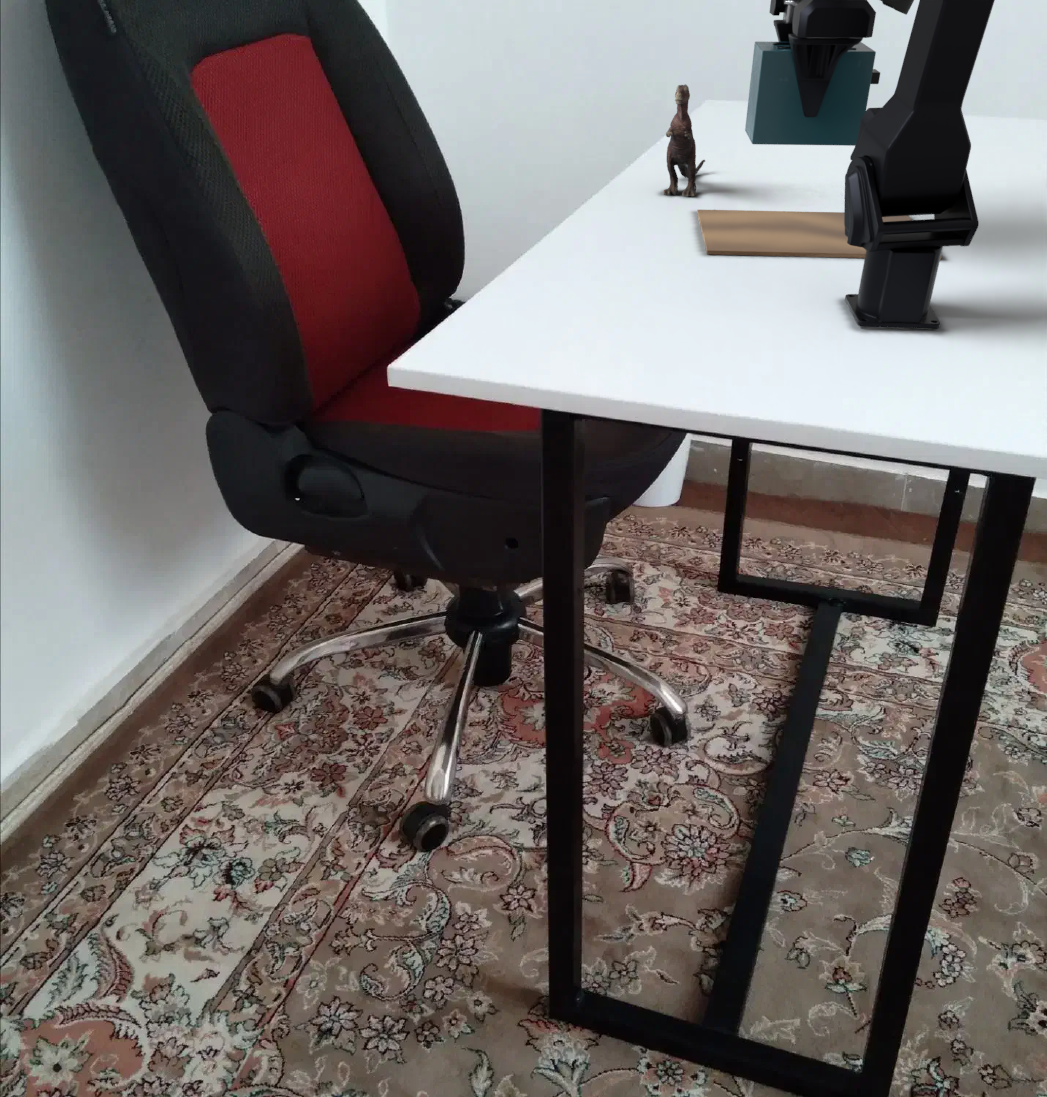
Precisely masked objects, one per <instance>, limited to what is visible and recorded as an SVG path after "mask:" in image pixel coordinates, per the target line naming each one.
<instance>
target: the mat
mask: <svg viewBox="0 0 1047 1097" xmlns="http://www.w3.org/2000/svg"><path fill="white" fill-rule="evenodd" d="M696 214H697V219H698V223H699V227H700V230H701V235H702V239H703V245H704V249H705V252H706V255H714V256H715V255H717V256H721V255H722V256H755V257H757V256H759V257H761V256H762V257H801V258H802V257H805V258H846V259H847V258H848V259H850V258H853V259H865V255H866V250H865V249H864V248H863V247H857V246H852V245H849V244H848V243H847V240H848V237H847V236H846V235H845V226H844V211H841V212H840V211H796V210H795V211H787V210H785V211H784V210H739V209H730V210H729V209H728V210H727V209H697V210H696ZM882 219H883V222H889V221H908V220H913V219H912V218H911V217H910V216H893V217H882ZM942 257H943V256H942V254H941V257H940V261H941V260H942Z"/></svg>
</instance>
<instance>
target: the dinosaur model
mask: <svg viewBox="0 0 1047 1097" xmlns="http://www.w3.org/2000/svg"><path fill="white" fill-rule="evenodd" d="M690 97H691V93H690V89H689V86H688V85H687V84H686V83H685V84H678V85H677V87H676V91H675V94H674V98H675V99H674V101H675V104H676V113H675V114H674V116H673V118H672V120H671V121H670V125H669V126H670V127H669V128H668V130H667V131H666V133H665V136H666V138H670V139H669V141H668V145H667V147H666V148H667V149H666V167H667V171H668V175H669V181H670V183H669V187H668V188H665V189H664V190H663V195H666V196H667V195H668V196H672V195H674V196H676V194H677V193H679V177H678V173H677V171H676V168H675V166H677V168H678V170H679V173H680V174H681V176H682V177H684V178H685V179H686V178H687V185H686V188H685V189H683V191H682V193H681V196H682V197H683V196H684V197H685V196H686V197H695V196H696V194H697V183H696V177H697V176H696V175H697V174H698V172H699V171H700V169H701V168H702V167H703V165H704V163H706V159H702V160H701V161H700V163H698V164H696V159H697V151H696V150H697V146H696V140H695V138H694V134H693V129H692V126H693V125H692V119H691V116H690V115H689V111H688V110H689V101H690Z"/></svg>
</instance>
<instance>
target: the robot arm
mask: <svg viewBox="0 0 1047 1097" xmlns="http://www.w3.org/2000/svg"><path fill="white" fill-rule="evenodd" d="M879 1H881V3H882V5H884V6H886V7H889V8H891V9H893V10H895V11H896V12H899V13H901V14H904V15H905V16H906V15H908V13H909V11H910V10H911V7H912V5H913V3H914V1H915V0H879ZM995 2H996V0H919V2H918V5H917V9H916V13H915V16H914V20H913V24H912V28H911V32H910V35H909V38H908V42H907V46H906V50H905V54H904V57H903V61H902V65H901V68H900V73H899V76H898V79H897V84H896V87H895V90H894V93H893V94H892V96H891V97H890V98H889V99H888V100H887V101H886V102H885V104H884V105H883V106H882V107H868V108H866V112H865V113H864V115H863V117H862V118H861V121H860V127H859V133H858V138H857V142H856V145H855V146H854V148H853V151H852V152H851V155H850V157H849V158H850V162H849V165H848V167H847V170H846V173H845V176H844V211H843V212H844V226H845V235H846V236H847V237H848V240H847V243H848V244H849V245H852V246H857V247H863V248H864V249H865V250H866V255H865V258H864V261H863V265H862V266H863V267H862V271H861V277H860V282H859V288H858V291H857V293H855V294H854V293H847V294H845V296H844V302H845V304H846V306H847V307H848V309H849V311H850V314H851V315H852V317H853V319H854V321H855V323H856V325H857V326H858V327H860V328H885V329H888V328H889V329H890V328H891V329H920V330H921V329H923V330H925V329H926V330H938V329H940V327H941V323H942V322H941V320H940V319H939V318H938V316H937V315H936V313H935V311H934V310H933V309H932V308H931V302H932V297H933V293H934V288H935V284H936V278H937V275H938V271H939V265H940V261H941V260H940V257H941V255H942V253H943V248H944V247H958V246H960V247H969V246H970V245H971V242H972V240H973V238H974V236H975V234H976V232H977V230H978V228H979V224H980V223H979V217H978V213H977V209H976V205H975V200H974V195H973V192H972V186H971V184H970V183H971V182H970V178H969V175H968V171H967V168H968V163H969V158H970V154H971V149H972V142H971V139H970V135H969V132H968V128H967V125H966V121H965V117H964V113H963V110H962V108H963V105H964V104H963V103H964V99H965V97H966V93H967V90H968V86H969V84H970V81H971V77H972V75H973V71H974V68H975V65H976V61H977V58H978V55H979V51H980V49H981V45H982V43H983V39H984V37H985V36H984V35H985V32H986V29H987V26H988V23H989V20H990V17H991V14H992V10H993V7H994V3H995ZM781 13H783V14H782V19H774V20H773V27H774V29H775V32H776V37H777V42H790V46H791V52H792V57H793V62H794V67H795V72H796V78H797V83H798V88H799V93H800V99H801V104H802V108H803V113H804V116H805V117H816V116H817V114H818V111H819V109H820V106H821V104H822V101H823V99H824V96H825V93H826V91H827V88H828V86H829V83H830V80H831V78H832V76H833V73H834V71H835V68H836V66H837V64H838V61H839V59H840V57H841V56H842V55H843V54H845V53H846V52H847V51H848V50H850V49H851V48H852V47H853V46H855V45H857V44H859V43H860V42H862V41H863V39H869V38H872V37H873V33H874V28H875V21H876V16H877V12H876V10H875V9H874V7H873V6H872V5H871V4H870V2H869V1H868V0H770V5H769V14H770V15H772V16H773V17H774V16H777V17H779V16H780V15H781ZM928 215H933V218H929V219H912V220H908V221H889V222H883V219H882V217H893V216H909V217H910V216H911V217H912V216H928ZM941 258H942V257H941Z"/></svg>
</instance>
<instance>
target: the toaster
mask: <svg viewBox="0 0 1047 1097" xmlns="http://www.w3.org/2000/svg"><path fill="white" fill-rule="evenodd" d="M753 45H754V46H753V53H752V54H753V55H752V64H751V72H750V81H749V91H748V100H747V107H746V108H747V109H746V117H745V118H746V119H745V128H744V132H745V133H746V136H747V137H748V139H749V141H750V143H751V144H752V145H772V146H773V145H774V146H775V145H776V146H777V145H778V146H779V145H780V146H781V145H783V146H784V145H785V146H847V147H848V146H849V147H851V146H853V147H855V145H856V142H857V138H858V133H859V127H860V121H861V118H862V117H863V115H864V113H865V112H866V110H867V109H868V108H867V107H868V102H869V95H870V89H871V85H879V83H880V78H881V71H879V70H878V69H876V68H874V67H875V66H874V65H875V60H876V55H877V54H876V53H877V51H875V50H874V49H872V48H871V47H870V46H868V45H866V43H864V42H862V41H861V42H860V43H859V44H857V45H855V46H853V47H852V48H851V49H850V50H848V51H847V52H846V53H845V54H843V55H842V56H841V57H840V59H839V61H838V64H837V66H836V68H835V71H834V73H833V76H832V78H831V80H830V83H829V86H828V88H827V91H826V93H825V96H824V99H823V101H822V104H821V106H820V109H819V111H818V114H817V116H816V117H805V116H804V113H803V108H802V104H801V99H800V93H799V88H798V83H797V78H796V72H795V67H794V62H793V57H792V52H791V46H790V42H779V41H754V44H753Z"/></svg>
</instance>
